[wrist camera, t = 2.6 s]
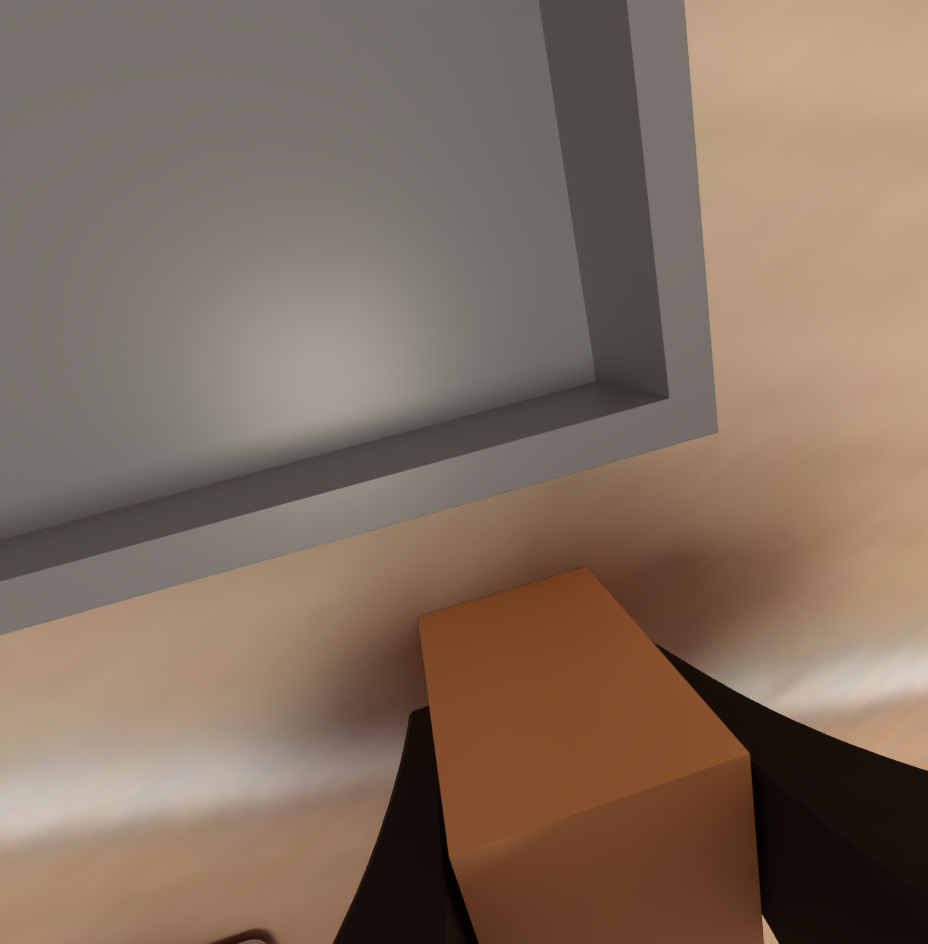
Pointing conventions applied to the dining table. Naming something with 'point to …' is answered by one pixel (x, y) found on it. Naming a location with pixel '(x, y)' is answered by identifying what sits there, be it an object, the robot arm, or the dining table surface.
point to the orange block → (585, 776)
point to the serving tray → (329, 272)
